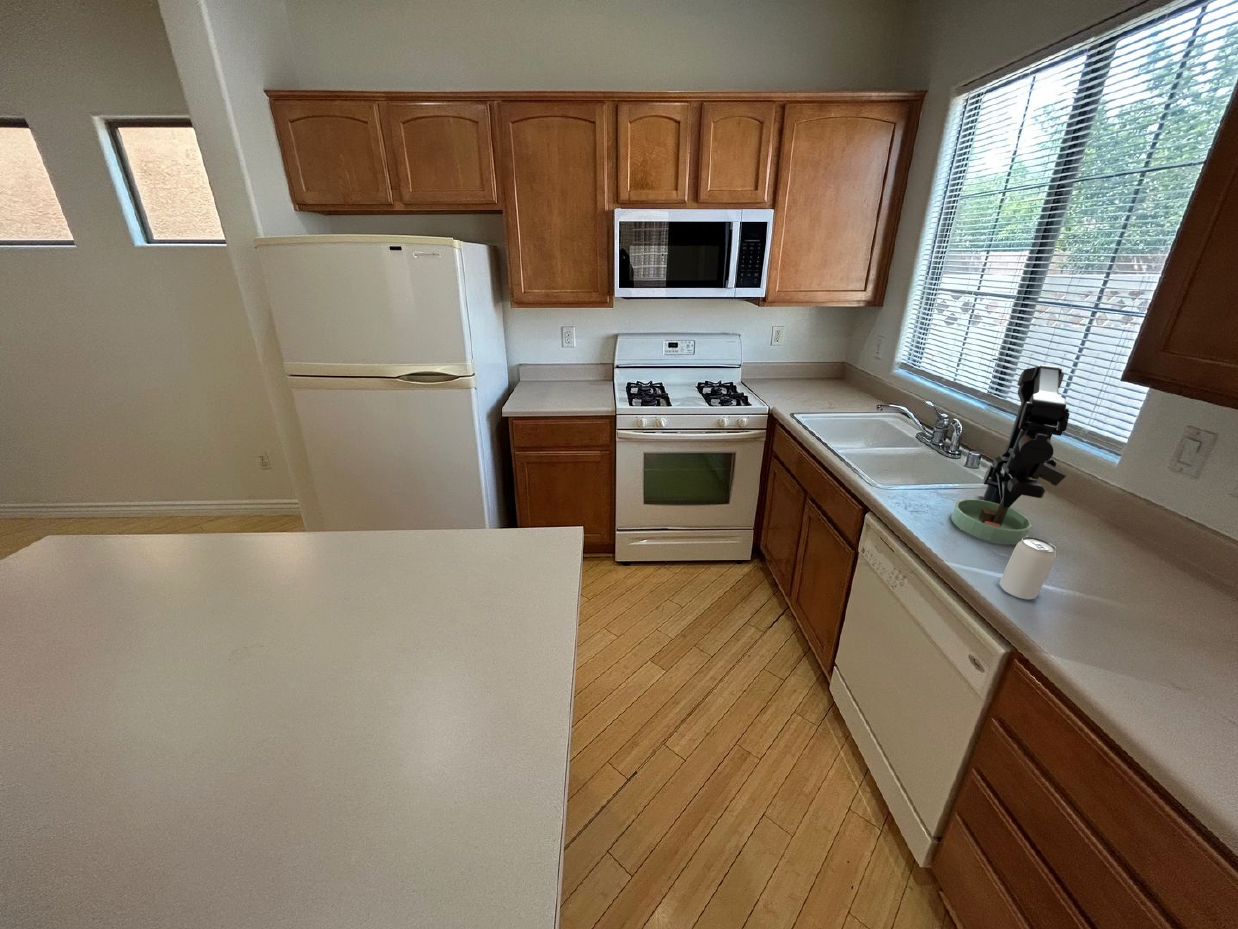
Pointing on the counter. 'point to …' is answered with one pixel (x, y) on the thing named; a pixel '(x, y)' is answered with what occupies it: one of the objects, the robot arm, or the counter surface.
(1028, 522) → the bowl
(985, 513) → the walnut block
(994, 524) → the terracotta block
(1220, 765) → the counter surface
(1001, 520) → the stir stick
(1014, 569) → the can
